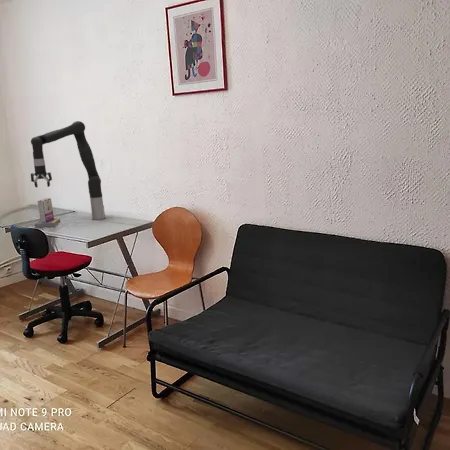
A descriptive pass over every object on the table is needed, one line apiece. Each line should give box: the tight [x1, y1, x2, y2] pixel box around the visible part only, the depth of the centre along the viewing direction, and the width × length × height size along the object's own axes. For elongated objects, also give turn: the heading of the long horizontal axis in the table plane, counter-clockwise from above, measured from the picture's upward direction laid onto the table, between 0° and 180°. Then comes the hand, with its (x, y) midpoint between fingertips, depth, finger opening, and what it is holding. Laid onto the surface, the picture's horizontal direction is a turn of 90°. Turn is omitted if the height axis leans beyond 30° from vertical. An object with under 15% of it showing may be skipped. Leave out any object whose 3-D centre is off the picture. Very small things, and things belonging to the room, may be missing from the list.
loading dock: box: [33, 217, 61, 229], centre depth 347 cm, size 14×16×3 cm
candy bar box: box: [37, 197, 55, 223], centre depth 344 cm, size 11×5×16 cm, turn 170°
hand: (42, 187), depth 340 cm, fingers open, 8 cm apart
